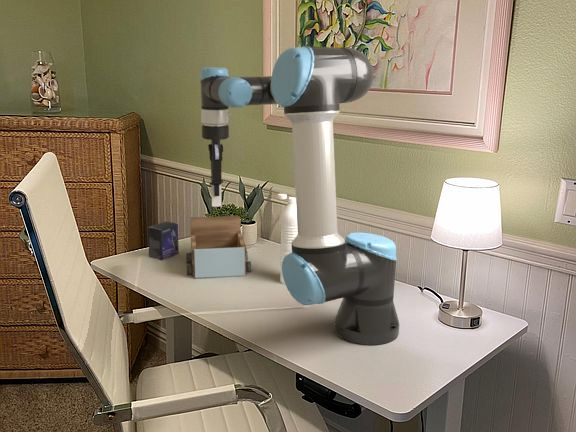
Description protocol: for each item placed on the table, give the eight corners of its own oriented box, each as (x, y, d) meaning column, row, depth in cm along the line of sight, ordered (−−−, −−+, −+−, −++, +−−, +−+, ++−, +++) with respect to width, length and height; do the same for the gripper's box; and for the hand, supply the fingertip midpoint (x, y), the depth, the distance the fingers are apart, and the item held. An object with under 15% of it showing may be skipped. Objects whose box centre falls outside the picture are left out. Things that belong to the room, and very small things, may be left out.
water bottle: (308, 284, 174) (310, 197, 167) (291, 290, 169) (292, 201, 162) (286, 275, 180) (287, 192, 173) (270, 281, 175) (270, 195, 169)
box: (162, 263, 189) (160, 229, 186) (148, 259, 191) (146, 226, 188) (179, 256, 195) (178, 223, 192) (166, 252, 198) (164, 220, 195)
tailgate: (245, 277, 176) (245, 248, 174) (194, 280, 174) (193, 250, 172) (245, 276, 177) (244, 247, 175) (194, 279, 175) (193, 249, 173)
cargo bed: (251, 276, 178) (251, 233, 175) (187, 280, 175) (185, 236, 172) (245, 255, 196) (244, 215, 193) (186, 257, 193) (184, 217, 190)
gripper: (230, 127, 167) (231, 211, 174) (226, 121, 180) (227, 199, 186) (202, 127, 166) (204, 212, 172) (200, 121, 178) (202, 200, 185)
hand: (216, 205), depth 179 cm, fingers closed
